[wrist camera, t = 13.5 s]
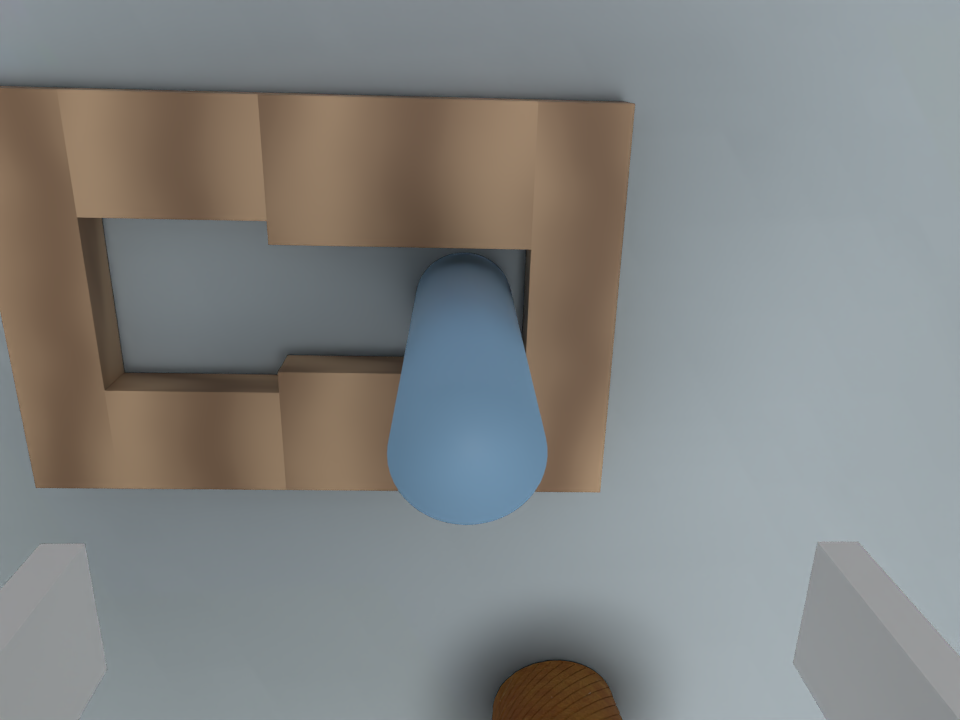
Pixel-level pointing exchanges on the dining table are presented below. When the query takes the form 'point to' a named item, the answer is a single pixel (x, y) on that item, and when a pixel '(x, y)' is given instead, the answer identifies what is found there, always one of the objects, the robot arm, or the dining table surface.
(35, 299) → the keyhole board
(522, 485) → the peg
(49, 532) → the dining table surface
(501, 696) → the disposable coffee cup
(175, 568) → the dining table surface
